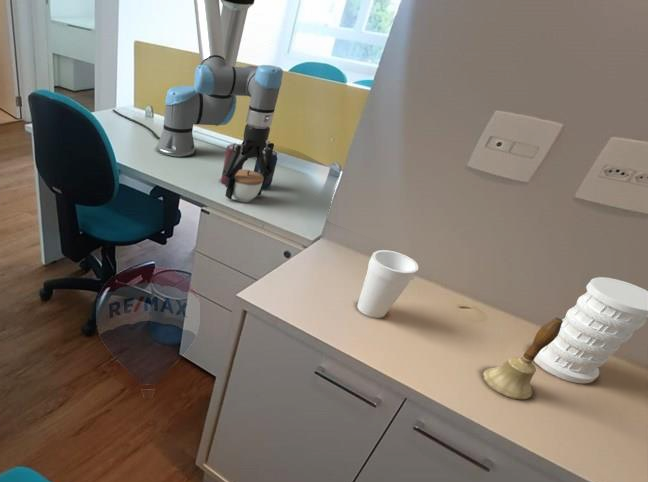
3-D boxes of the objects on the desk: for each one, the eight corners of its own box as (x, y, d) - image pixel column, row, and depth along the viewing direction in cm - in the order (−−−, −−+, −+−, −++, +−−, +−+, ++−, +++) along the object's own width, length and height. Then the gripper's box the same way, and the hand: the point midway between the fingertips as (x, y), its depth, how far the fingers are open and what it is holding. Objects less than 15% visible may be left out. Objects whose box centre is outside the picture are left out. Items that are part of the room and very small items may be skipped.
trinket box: (258, 207, 144) (265, 178, 138) (225, 202, 145) (231, 173, 139) (258, 194, 152) (265, 167, 146) (227, 189, 154) (232, 162, 148)
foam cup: (345, 296, 107) (366, 248, 99) (383, 299, 107) (407, 251, 99) (358, 320, 100) (382, 271, 92) (398, 323, 100) (426, 274, 92)
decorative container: (609, 383, 89) (685, 312, 78) (558, 383, 88) (627, 312, 77) (564, 345, 98) (626, 276, 87) (516, 345, 97) (573, 275, 85)
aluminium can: (217, 179, 160) (223, 144, 152) (233, 178, 163) (240, 143, 155) (226, 186, 156) (233, 150, 148) (242, 185, 158) (250, 149, 150)
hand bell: (487, 391, 85) (540, 327, 75) (479, 364, 91) (527, 301, 81) (536, 405, 83) (597, 341, 73) (524, 376, 89) (579, 313, 79)
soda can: (255, 190, 155) (264, 155, 147) (247, 183, 160) (254, 148, 152) (273, 190, 157) (282, 155, 149) (264, 182, 162) (272, 148, 154)
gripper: (232, 130, 128) (218, 203, 142) (296, 127, 136) (277, 196, 150) (218, 123, 133) (207, 194, 147) (281, 120, 141) (265, 188, 155)
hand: (243, 195), depth 148 cm, fingers closed on trinket box, 11 cm apart
